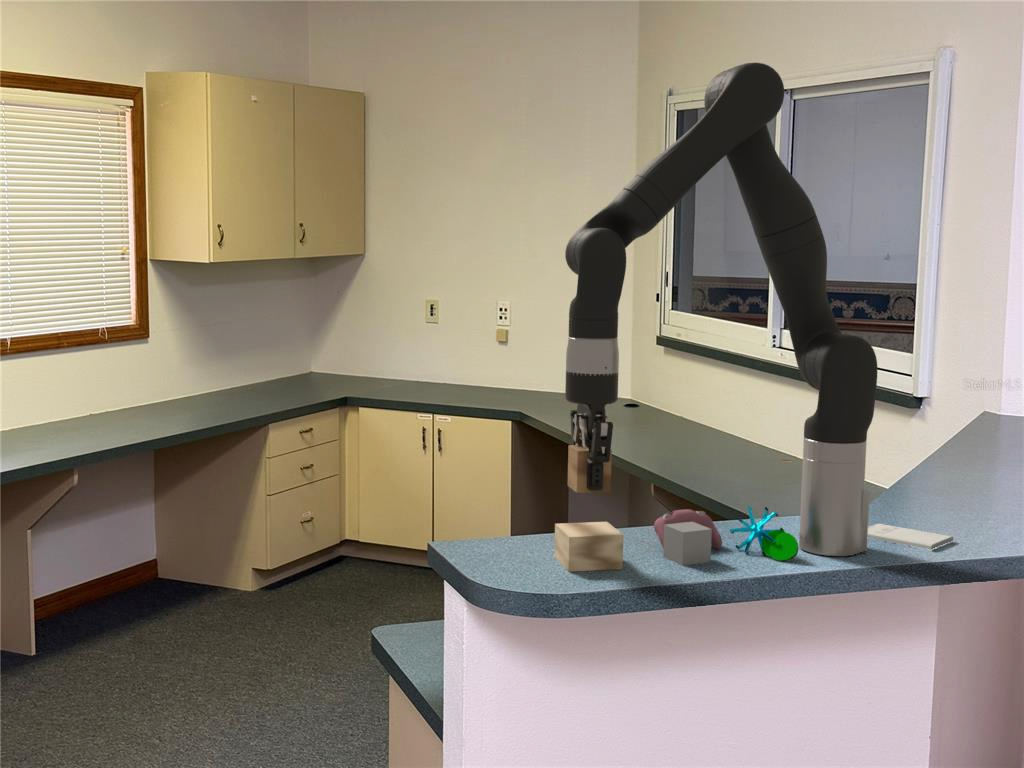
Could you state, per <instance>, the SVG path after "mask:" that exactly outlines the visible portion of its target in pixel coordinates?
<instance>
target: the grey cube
mask: <svg viewBox="0 0 1024 768" xmlns="http://www.w3.org/2000/svg"><path fill="white" fill-rule="evenodd" d="M711 537H712V529H710V528H708V527H705V526H702V525H700V524H697V523H695V522H684V523H675V524H666V525H664V549H663V553H662V555H663V558H665V559H667V560H669V561H672V562H673V563H676V564H678V565H680V566H688V565H689V566H690V565H695V564H703V563H704V564H705V563H711V562H712V545H711Z"/></svg>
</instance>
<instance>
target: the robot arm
mask: <svg viewBox="0 0 1024 768" xmlns="http://www.w3.org/2000/svg"><path fill="white" fill-rule="evenodd" d="M784 99H785V87H784V82H783V80H782V78H781V76H780V74H779V73H778V71H776V70H775V68H773V67H772V66H770V65H768V64H766V63H762V62H747V63H744V64H740V65H737V66H734V67H732V68H729V69H727V70H724V71H722V72H720V73H717V74H716V75H715V76H714V77H713V78H711V80H710V81H709V83H708V84H707V87H706V89H705V92H704V99H703V100H704V110H705V114H703V116H702V117H701V118H700V119H699V120H698V121H697V122H696V123H695V124H694V125H693V126H692V127H691V128H690V129H689V130H687V131H686V132H685V133H684V134H683V135H682V136H681V137H680V138H678V139H677V140H676V141H675V142H673V143H672V144H671V145H670V146H668V147H667V148H666V149H664V150H663V151H662V152H661V153H659V154H658V155H657V156H656V157H654V158H653V159H651V160H650V162H648V163H647V164H646V165H645V166H643V168H642V169H641V170H639V172H638V173H637V174H635V176H634V177H633V178H632V179H631V180H630V181H629V182H628V183H627V184H626V185H625V186H624V187H623V188H622V190H621V191H620V192H619V193H618V194H617V195H616V196H615V197H614V198H613V200H612V201H610V202H609V203H608V204H607V205H606V206H605V207H603V208H602V209H600V210H599V211H598V212H597V213H596V214H594V215H593V216H592V217H591V218H589V219H588V220H587V221H586V222H585V223H583V225H581V226H580V227H579V228H578V229H577V231H576V232H575V233H573V235H572V236H571V237H570V239H569V240H568V242H567V244H566V248H565V253H564V254H565V261H566V265H567V266H568V268H569V269H570V271H572V273H574V274H575V275H577V285H576V294H575V297H574V298H572V300H571V301H570V305H569V310H568V311H569V313H568V339H567V347H566V351H565V352H566V354H565V355H566V357H565V359H566V361H565V390H564V393H565V395H564V398H565V400H566V402H568V403H572V404H576V405H577V406H576V407H577V408H576V409H571V410H570V412H569V415H570V428H571V429H570V431H571V433H570V435H571V436H570V437H571V445H583V448H584V449H586V451H587V489H589V490H590V491H596V490H602V488H603V464H605V463H606V462H609V460H610V450H612V440H613V439H612V438H613V430H614V425H613V424H614V423H613V422H612V421H609V420H608V419H609V418H608V416H607V414H606V405H610V404H611V405H612V404H615V403H616V402H617V401H618V399H619V367H620V366H619V363H620V362H619V361H620V360H619V359H620V351H619V341H618V340H619V339H618V336H619V335H618V334H619V331H618V330H619V305H620V304H619V303H620V301H621V297H622V292H623V287H624V282H625V276H626V270H627V251H626V248H627V247H629V245H631V243H633V242H634V241H635V240H636V239H639V238H641V237H642V236H643V237H644V236H645V235H647V234H648V233H649V232H651V231H653V229H654V228H656V227H657V225H658V224H660V222H661V221H662V220H663V219H664V218H665V217H666V216H667V215H668V214H669V213H670V212H671V211H672V209H674V207H675V206H676V205H678V203H679V202H680V201H682V199H683V198H684V197H685V196H686V195H687V194H688V193H689V192H690V191H691V190H692V188H694V187H695V186H696V184H697V183H699V181H701V179H702V178H704V176H706V174H708V173H709V172H710V170H711V169H713V168H714V166H716V165H717V164H718V163H719V162H720V161H721V160H722V159H723V158H724V157H725V158H726V159H727V161H728V163H729V166H730V168H731V171H732V172H733V175H734V178H735V181H736V184H737V186H738V189H739V192H740V194H741V198H742V200H743V201H742V202H743V203H744V207H745V210H746V212H747V215H748V217H749V220H750V223H751V226H752V230H753V233H754V236H755V238H756V242H757V244H758V246H759V249H760V252H761V255H762V258H763V260H764V263H765V266H766V267H767V270H768V273H769V276H770V278H771V281H772V284H773V287H774V289H775V293H776V295H777V297H778V300H779V303H780V305H781V308H782V310H783V311H782V312H783V313H784V316H785V319H786V323H787V328H788V332H789V336H790V340H791V343H792V348H793V352H794V356H795V360H796V363H797V367H798V370H799V373H800V374H801V375H800V376H801V377H802V378H803V380H804V381H805V382H806V383H807V384H808V386H810V387H811V388H812V389H814V390H817V391H818V397H817V398H818V399H817V406H816V410H815V412H814V413H813V414H812V415H811V416H809V417H807V418H806V419H805V422H804V425H803V443H802V444H803V445H802V446H803V448H802V466H801V467H802V472H801V474H802V475H801V490H800V491H801V494H800V518H799V521H800V522H799V532H798V533H799V534H798V537H799V538H798V539H799V540H798V542H799V543H798V548H800V549H801V550H803V551H805V552H808V553H811V554H815V555H819V556H820V555H823V556H828V557H829V556H830V557H831V556H832V557H848V556H849V555H850V556H855V555H854V554H856V555H858V554H861V553H864V552H863V551H867V552H868V539H867V537H868V527H869V514H870V499H871V498H870V496H871V493H870V491H869V490H868V489H866V488H865V483H866V482H865V479H866V459H867V458H866V457H867V440H868V439H867V438H868V431H869V429H870V426H871V424H872V422H873V418H874V413H875V405H876V404H875V403H876V395H877V385H878V360H877V356H876V351H875V349H874V348H873V346H872V345H871V344H870V342H869V341H867V340H866V339H864V338H862V337H859V336H856V335H853V334H852V335H851V334H847V333H842V331H841V329H840V328H839V325H838V323H837V320H836V318H835V315H834V312H833V310H832V308H831V305H830V301H829V296H828V292H827V291H828V290H827V273H828V272H827V271H828V250H827V245H826V244H827V243H826V240H825V236H824V234H823V230H822V228H821V223H820V222H819V218H818V216H817V214H816V211H815V208H814V207H813V206H814V205H813V204H812V202H811V200H810V197H808V194H807V193H806V191H805V190H804V189H803V187H802V186H801V185H800V184H799V182H798V181H797V180H796V178H795V177H794V176H793V175H792V174H791V172H790V171H789V170H788V168H787V167H786V166H785V164H784V163H783V161H782V160H781V158H780V157H779V155H778V153H777V150H776V149H775V147H774V144H773V141H772V138H771V134H770V132H769V129H768V123H770V122H771V121H772V120H773V119H774V118H775V117H776V116H778V114H779V112H780V111H781V108H782V106H783V103H784V101H785V100H784ZM597 448H598V449H599V450H600V454H597ZM860 552H861V553H860ZM857 553H858V554H857ZM850 556H849V557H850Z"/></svg>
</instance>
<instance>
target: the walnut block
mask: <svg viewBox="0 0 1024 768" xmlns="http://www.w3.org/2000/svg"><path fill="white" fill-rule="evenodd" d="M567 453H568V455H567V457H568V459H567V487H568V488H570V489H571V490H572V491H573V492H575V493H576V494H583V493H585V494H586V493H587V494H588V493H610V492H611V484H612V483H611V481H612V449H611V450H610V460H609V462H606V463H605V464H603V488H602V490H596V491H590V490H589V489H587V451H586V449H584V448H583V445H572V444H569V445H568V451H567ZM597 454H600V450H599V449H598V448H597Z"/></svg>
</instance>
